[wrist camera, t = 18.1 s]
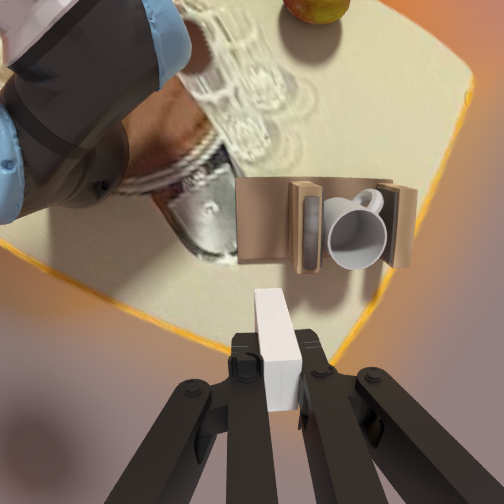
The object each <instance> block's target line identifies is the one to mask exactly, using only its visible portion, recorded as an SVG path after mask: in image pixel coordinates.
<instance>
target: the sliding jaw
mask: <svg viewBox="0 0 504 504" xmlns="http://www.w3.org/2000/svg"><path fill="white" fill-rule="evenodd" d="M323 226H324V190H322V186H319V185H317V184H314V183H312V182H309V181H289V257H290V259H291V261H292V263H293V266H294V268H295V270H296V272H297V274H306V273H319V267H322V250H323Z"/></svg>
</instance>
